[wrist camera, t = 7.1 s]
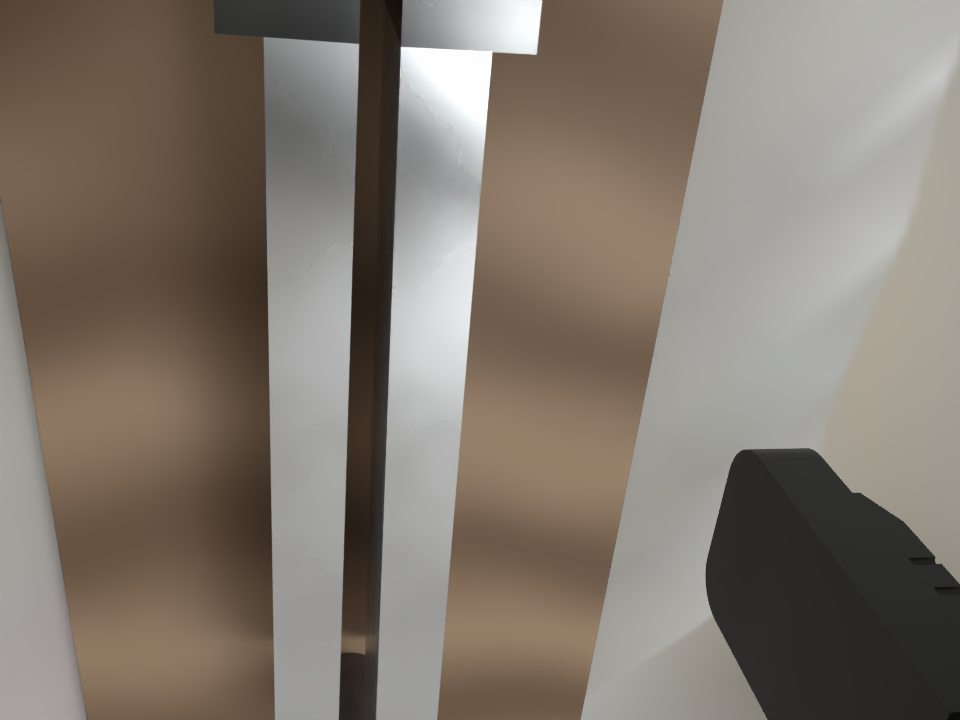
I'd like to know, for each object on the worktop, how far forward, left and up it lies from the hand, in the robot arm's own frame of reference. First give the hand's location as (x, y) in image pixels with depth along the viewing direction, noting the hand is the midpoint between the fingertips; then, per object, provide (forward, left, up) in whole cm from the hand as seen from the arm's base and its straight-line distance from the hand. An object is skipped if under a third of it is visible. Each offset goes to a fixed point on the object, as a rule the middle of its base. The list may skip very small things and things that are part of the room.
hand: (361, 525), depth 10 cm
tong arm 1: (0, -3, -10) cm, 10 cm away
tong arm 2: (-2, -2, -10) cm, 10 cm away
